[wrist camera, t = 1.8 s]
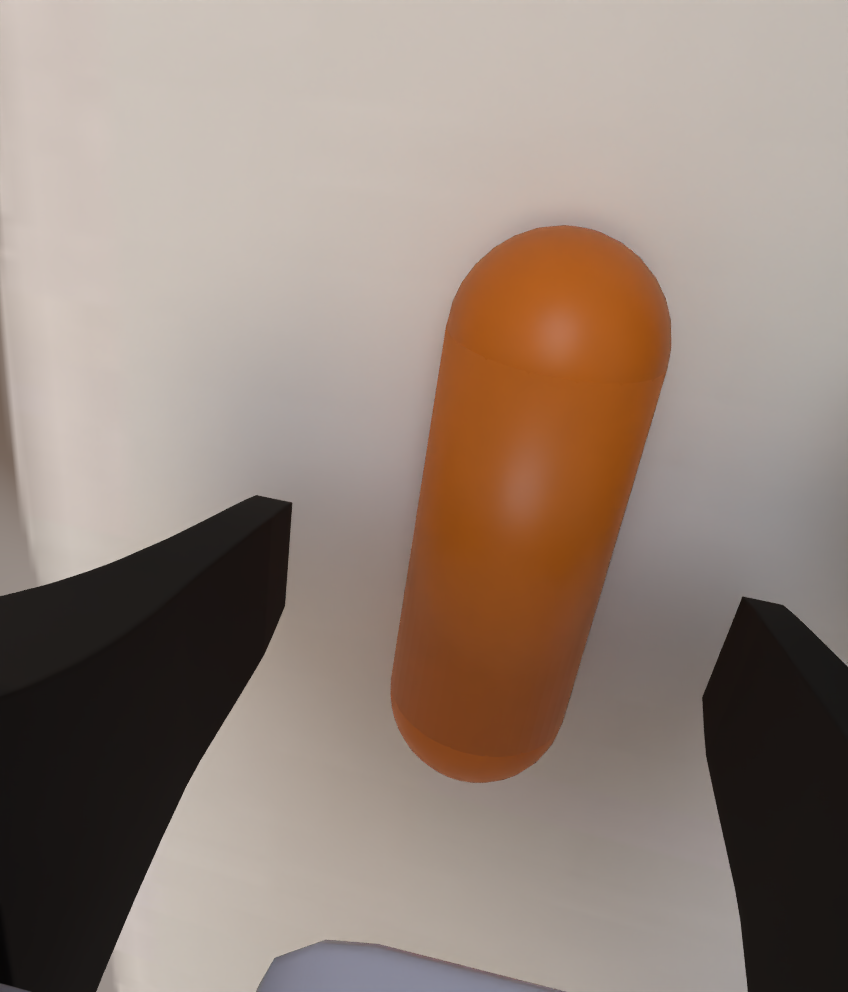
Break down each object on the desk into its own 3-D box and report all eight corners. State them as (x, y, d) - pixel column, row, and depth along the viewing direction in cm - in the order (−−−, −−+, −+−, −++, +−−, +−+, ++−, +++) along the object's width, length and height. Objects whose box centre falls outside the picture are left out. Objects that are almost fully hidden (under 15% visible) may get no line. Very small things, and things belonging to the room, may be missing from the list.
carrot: (548, 715, 19) (543, 841, 16) (399, 681, 19) (363, 798, 16) (686, 230, 14) (719, 273, 10) (478, 195, 14) (448, 224, 11)
